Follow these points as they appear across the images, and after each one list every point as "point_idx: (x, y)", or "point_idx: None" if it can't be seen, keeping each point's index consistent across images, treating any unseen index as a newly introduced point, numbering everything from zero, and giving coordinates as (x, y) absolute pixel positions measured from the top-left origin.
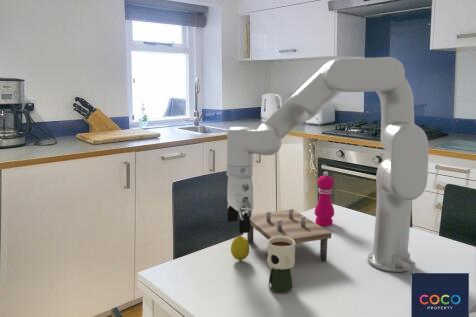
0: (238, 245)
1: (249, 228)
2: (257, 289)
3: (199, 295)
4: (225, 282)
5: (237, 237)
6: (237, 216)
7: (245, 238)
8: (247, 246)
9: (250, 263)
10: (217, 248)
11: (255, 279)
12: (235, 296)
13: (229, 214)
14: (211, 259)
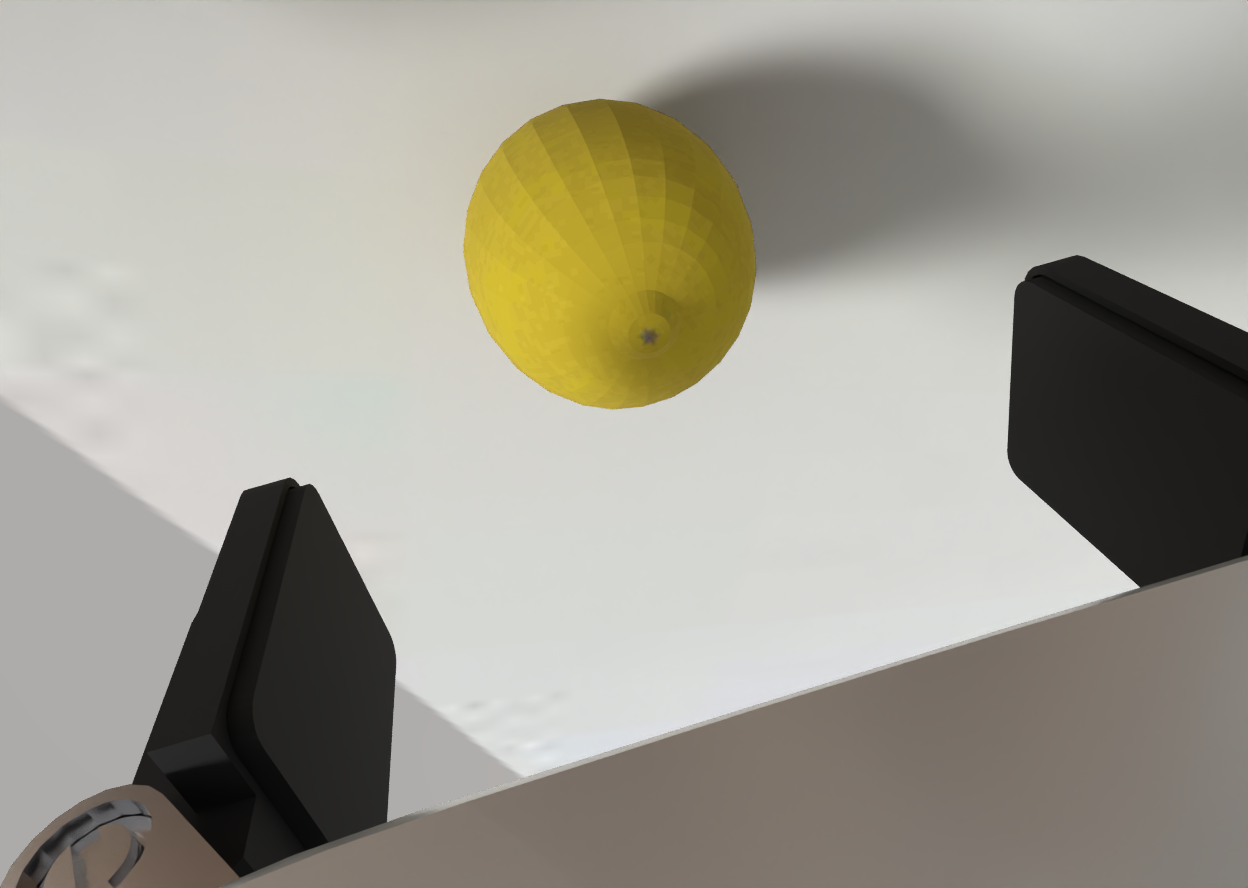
0: (742, 325)
1: (1126, 290)
2: (1242, 96)
3: (1092, 550)
4: (995, 379)
5: (640, 369)
6: (292, 551)
7: (627, 215)
8: (717, 166)
9: (665, 69)
10: (180, 445)
11: (1059, 79)
12: (1236, 312)
13: (378, 777)
14: (500, 498)
